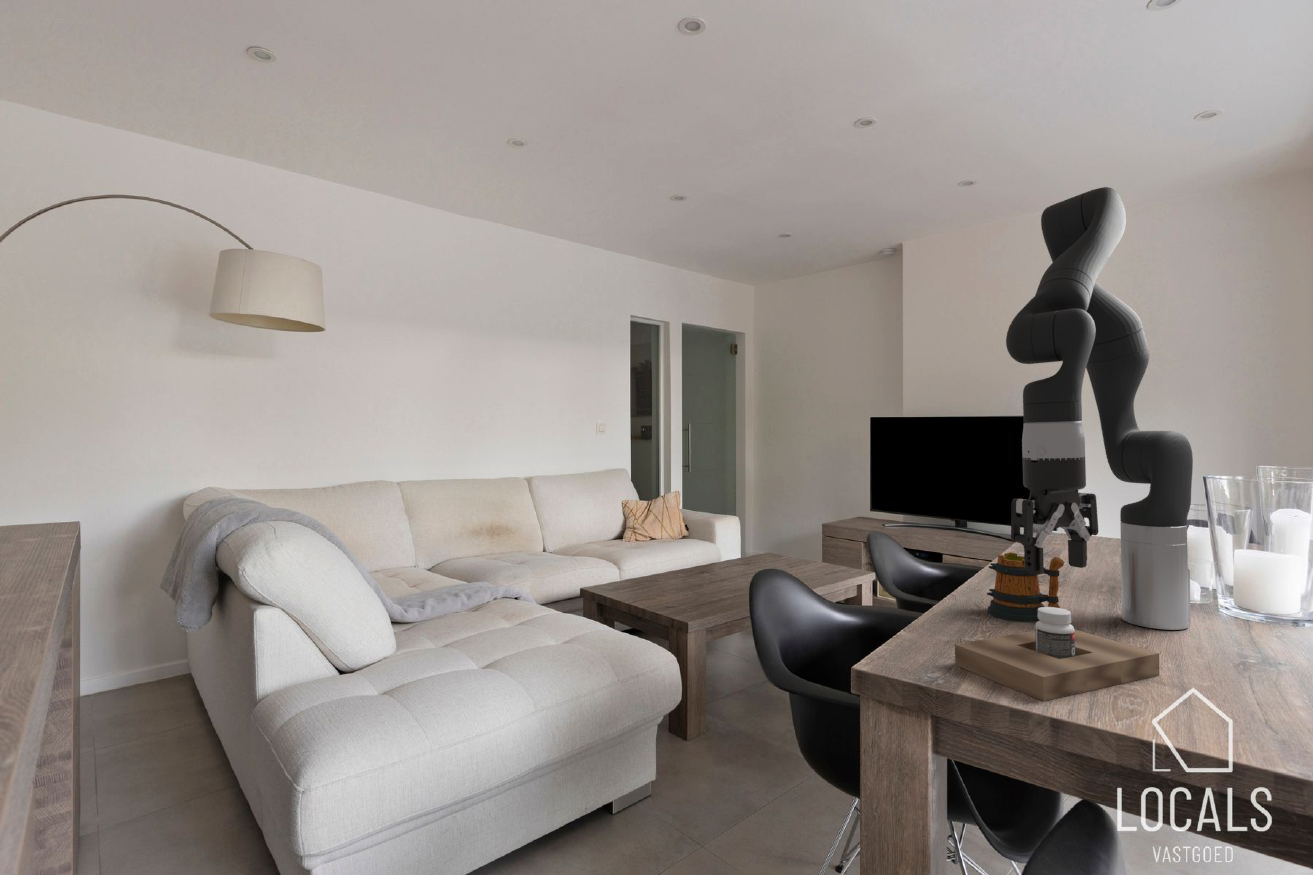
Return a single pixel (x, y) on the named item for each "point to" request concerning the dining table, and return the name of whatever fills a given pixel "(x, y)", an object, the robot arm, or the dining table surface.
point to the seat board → (1056, 664)
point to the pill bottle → (1055, 633)
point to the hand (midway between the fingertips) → (1056, 570)
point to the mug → (1021, 589)
